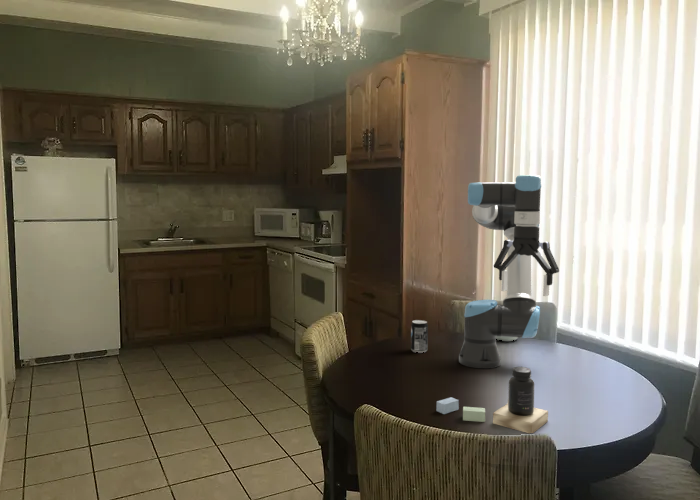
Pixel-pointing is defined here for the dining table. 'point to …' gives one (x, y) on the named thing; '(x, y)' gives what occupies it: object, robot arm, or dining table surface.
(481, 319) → the robot arm
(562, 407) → the dining table surface
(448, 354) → the dining table surface
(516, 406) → the supplement bottle
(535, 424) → the maple block
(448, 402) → the dusty blue brick
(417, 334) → the beverage can
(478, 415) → the sage brick
